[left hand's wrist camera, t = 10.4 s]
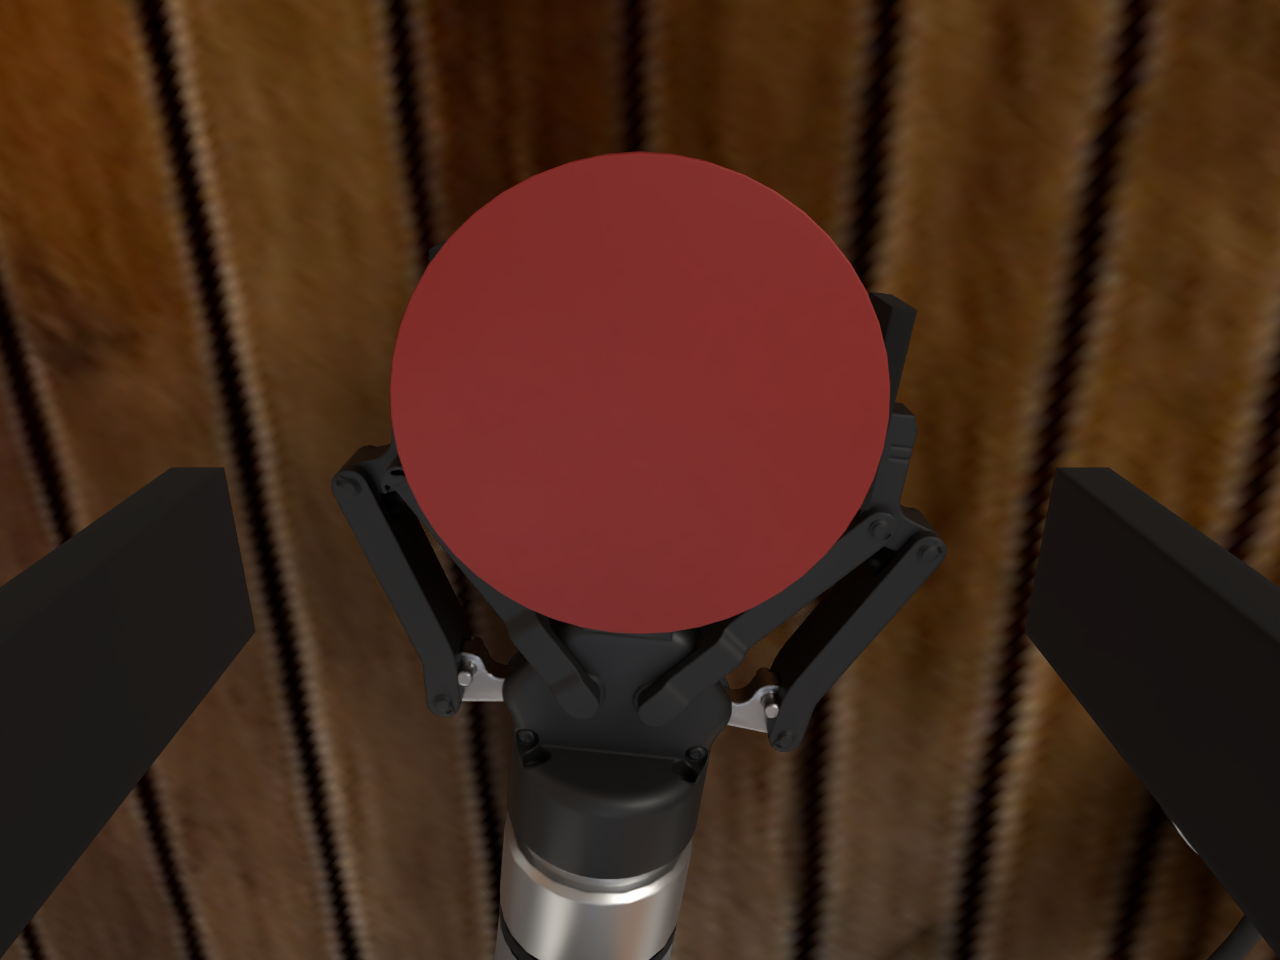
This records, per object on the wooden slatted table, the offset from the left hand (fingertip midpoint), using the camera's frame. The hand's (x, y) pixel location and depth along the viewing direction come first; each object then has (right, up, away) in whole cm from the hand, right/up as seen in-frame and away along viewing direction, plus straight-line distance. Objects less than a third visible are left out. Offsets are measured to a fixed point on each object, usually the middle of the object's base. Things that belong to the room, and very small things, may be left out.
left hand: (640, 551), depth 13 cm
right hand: (+1, +7, +13) cm, 15 cm away
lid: (0, +3, +6) cm, 7 cm away
